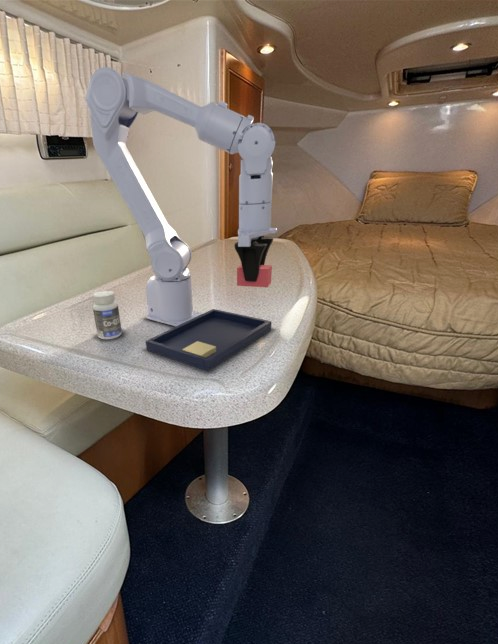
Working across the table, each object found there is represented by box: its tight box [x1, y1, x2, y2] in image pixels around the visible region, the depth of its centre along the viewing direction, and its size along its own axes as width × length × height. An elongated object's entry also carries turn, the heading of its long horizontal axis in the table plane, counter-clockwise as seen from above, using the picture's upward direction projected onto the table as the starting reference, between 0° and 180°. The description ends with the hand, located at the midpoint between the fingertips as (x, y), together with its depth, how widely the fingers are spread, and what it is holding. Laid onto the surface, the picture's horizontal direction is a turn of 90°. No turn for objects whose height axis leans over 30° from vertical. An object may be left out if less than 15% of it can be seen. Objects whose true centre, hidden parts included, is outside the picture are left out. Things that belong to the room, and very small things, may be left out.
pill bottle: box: [92, 290, 123, 340], centre depth 69 cm, size 5×5×8 cm
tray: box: [145, 308, 272, 372], centre depth 66 cm, size 14×20×2 cm
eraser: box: [236, 263, 273, 288], centre depth 70 cm, size 6×3×4 cm, turn 66°
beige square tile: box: [182, 341, 216, 358], centre depth 60 cm, size 4×4×1 cm
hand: (253, 278), depth 70 cm, fingers closed on eraser, 3 cm apart
